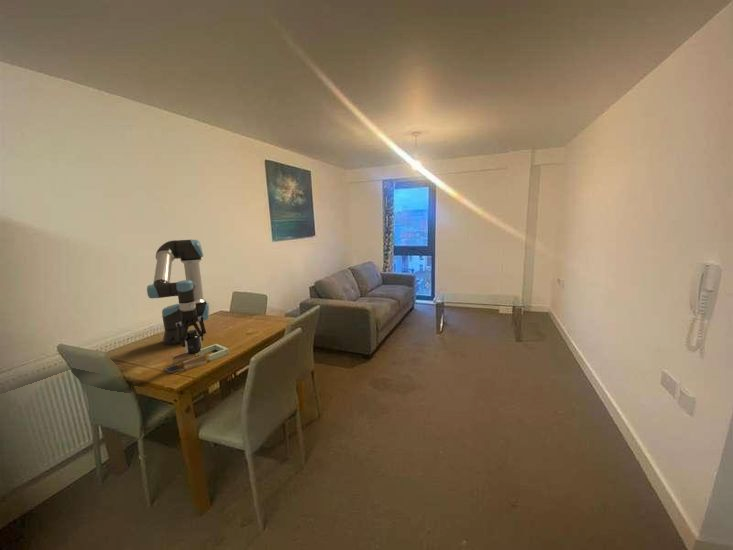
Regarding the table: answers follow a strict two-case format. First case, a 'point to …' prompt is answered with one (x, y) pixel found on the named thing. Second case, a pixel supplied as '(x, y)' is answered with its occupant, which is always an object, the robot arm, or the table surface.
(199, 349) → the supplement bottle
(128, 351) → the table surface
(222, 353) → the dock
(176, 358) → the channel
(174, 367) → the mat
